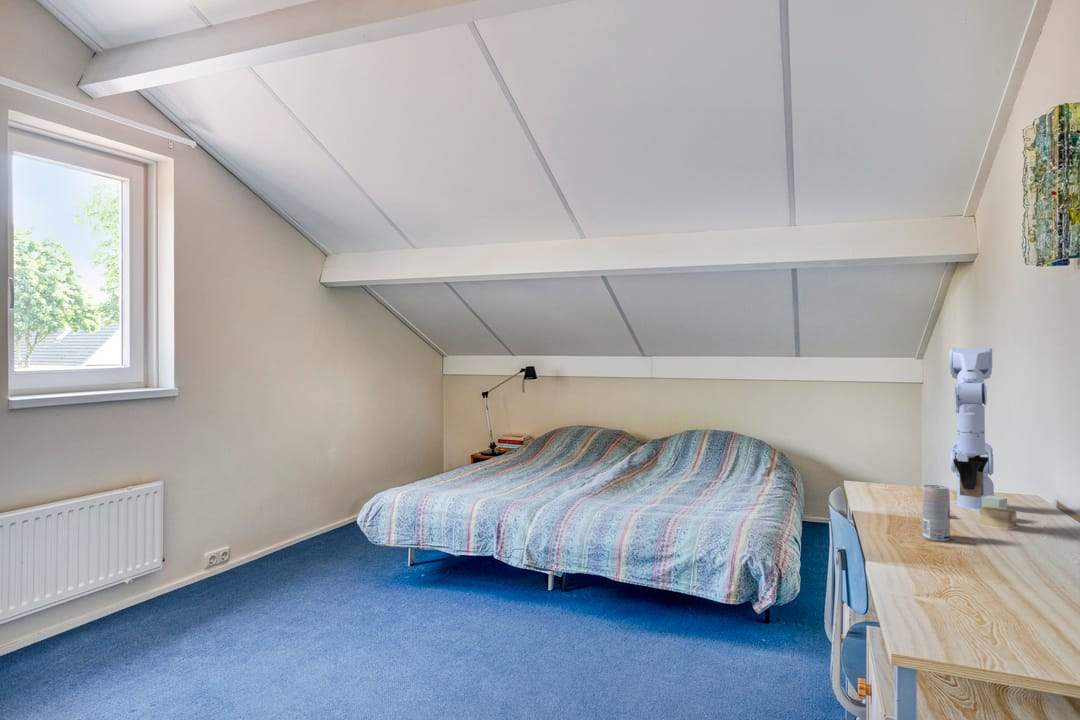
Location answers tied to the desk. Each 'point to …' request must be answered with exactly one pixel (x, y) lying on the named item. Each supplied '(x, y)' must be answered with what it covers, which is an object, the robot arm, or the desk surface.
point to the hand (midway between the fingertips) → (971, 487)
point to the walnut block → (977, 490)
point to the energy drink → (936, 513)
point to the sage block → (994, 501)
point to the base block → (998, 517)
